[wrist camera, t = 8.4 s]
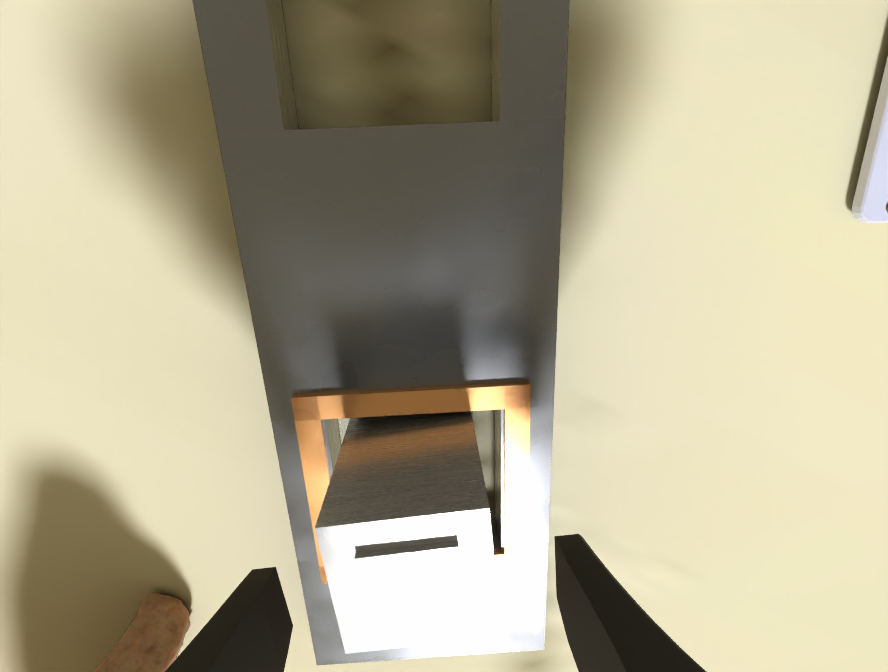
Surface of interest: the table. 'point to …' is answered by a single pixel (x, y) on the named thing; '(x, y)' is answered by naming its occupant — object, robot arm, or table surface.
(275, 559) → the table surface
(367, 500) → the grey rectangular block
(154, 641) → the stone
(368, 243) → the rail
